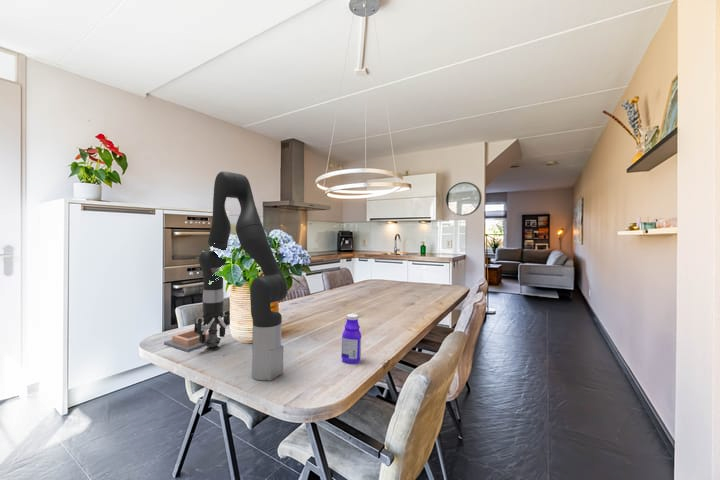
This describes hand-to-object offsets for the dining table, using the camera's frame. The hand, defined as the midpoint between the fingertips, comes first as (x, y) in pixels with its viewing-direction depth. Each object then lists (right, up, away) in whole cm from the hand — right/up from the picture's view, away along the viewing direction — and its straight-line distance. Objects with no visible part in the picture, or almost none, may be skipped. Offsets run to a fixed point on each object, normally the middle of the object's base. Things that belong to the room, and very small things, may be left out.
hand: (212, 339), depth 117 cm
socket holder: (-12, -3, +6) cm, 13 cm away
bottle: (+56, -5, -8) cm, 57 cm away
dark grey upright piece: (0, -4, 0) cm, 4 cm away
